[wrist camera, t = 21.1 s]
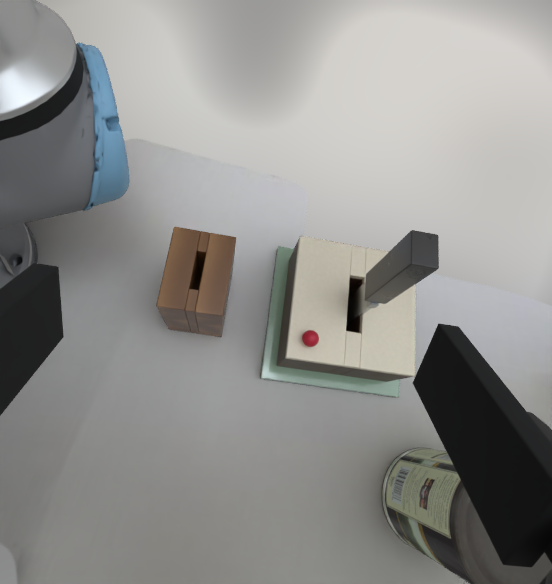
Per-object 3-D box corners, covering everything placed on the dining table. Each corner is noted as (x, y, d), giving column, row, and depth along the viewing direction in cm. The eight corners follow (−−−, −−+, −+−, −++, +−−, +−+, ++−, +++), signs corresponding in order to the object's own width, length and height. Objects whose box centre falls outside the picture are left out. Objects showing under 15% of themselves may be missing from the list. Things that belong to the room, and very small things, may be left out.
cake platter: (260, 378, 45) (261, 377, 44) (277, 249, 50) (278, 246, 49) (395, 397, 46) (399, 397, 45) (398, 270, 51) (402, 267, 50)
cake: (276, 366, 44) (289, 354, 36) (289, 259, 49) (303, 228, 41) (387, 381, 46) (423, 374, 38) (390, 276, 50) (423, 250, 42)
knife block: (168, 329, 45) (155, 305, 35) (182, 264, 47) (174, 226, 38) (221, 337, 46) (222, 316, 36) (232, 272, 48) (236, 237, 39)
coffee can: (478, 546, 43) (596, 606, 29) (387, 555, 41) (468, 621, 28) (461, 444, 46) (562, 455, 32) (376, 448, 44) (445, 462, 31)
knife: (328, 330, 47) (410, 266, 27) (329, 306, 47) (411, 226, 28) (344, 333, 47) (439, 271, 27) (346, 309, 48) (438, 232, 28)
